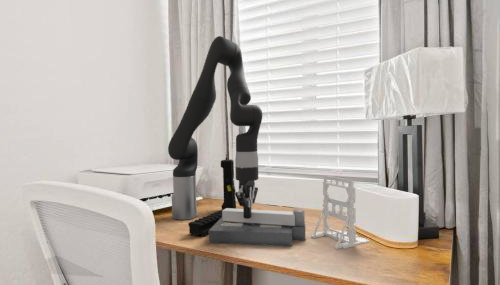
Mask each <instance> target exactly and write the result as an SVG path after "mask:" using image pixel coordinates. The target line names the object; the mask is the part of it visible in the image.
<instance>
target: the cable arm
mask: <svg viewBox="0 0 500 285" xmlns="http://www.w3.org/2000/svg"><path fill="white" fill-rule="evenodd" d="M305 220H306V218H305V210H304V209H294V210H293V211H287V210H286V211H285V210H284V211H283V210H270V209H269V210H267V209H252V208H251V218H249V219H245V218H244V212H243V208H236V209H234V208H226V209H224V210H223V211H222V221H232V222H247V223H261V224H276V225H291V226H295V225H296V226H303V225H305V226H306V221H305Z"/></svg>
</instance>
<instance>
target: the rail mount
mask: <svg viewBox="0 0 500 285" xmlns="http://www.w3.org/2000/svg"><path fill="white" fill-rule="evenodd" d="M223 210H224V209H222V208H221V209H220V210H218V211H214V212H213V213H210V214H207V215H206V216H203V217H199V218H198V219H194V220H192V221H190V222H188V223H187V224H188V228H189V230H188V232H189V234H190V235H191V236H194V235H197V236H199V235H201V238H205V237H207V236H209V230H210V229H211V228H212V227H213V226H214V225H215V224H216V223H217V222H218V220H219V219H220V218H221V217H222V211H223Z"/></svg>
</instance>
